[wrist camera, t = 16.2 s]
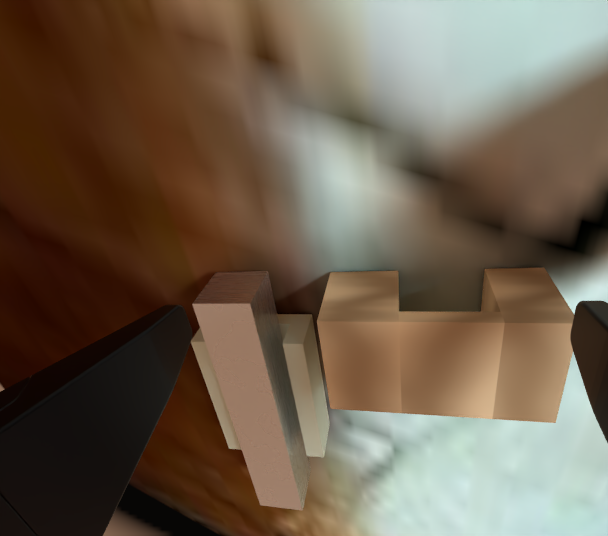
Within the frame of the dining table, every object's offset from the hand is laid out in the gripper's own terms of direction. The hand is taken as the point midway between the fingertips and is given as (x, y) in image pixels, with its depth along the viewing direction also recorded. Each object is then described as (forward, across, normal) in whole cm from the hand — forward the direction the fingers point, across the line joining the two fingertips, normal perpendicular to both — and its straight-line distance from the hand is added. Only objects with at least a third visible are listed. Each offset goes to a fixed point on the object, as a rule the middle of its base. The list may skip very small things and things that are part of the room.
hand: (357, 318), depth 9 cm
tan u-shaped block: (+12, -2, +9) cm, 15 cm away
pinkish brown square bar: (+11, +8, +14) cm, 19 cm away
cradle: (+12, +8, +14) cm, 20 cm away
